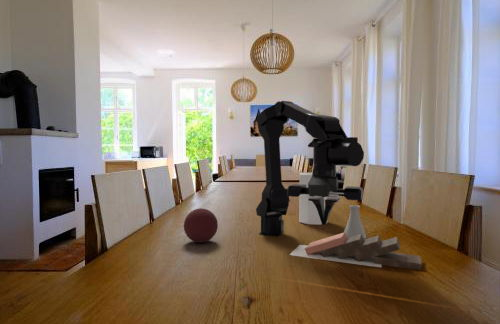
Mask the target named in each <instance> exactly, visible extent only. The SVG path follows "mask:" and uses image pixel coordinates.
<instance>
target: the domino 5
mask: <svg viewBox="0 0 500 324" xmlns="http://www.w3.org/2000/svg"><path fill="white" fill-rule="evenodd" d="M374 263H375V264H381V265H382V266H389V267H397V268H402V269H409V270H410V269H411V270H416V271H422V260H421V256H420V255H414V254H407V253H401V252H396V251H393V252H390V253H386V254H382V255H379V256H375V257H374Z"/></svg>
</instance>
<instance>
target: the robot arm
mask: <svg viewBox="0 0 500 324" xmlns="http://www.w3.org/2000/svg"><path fill="white" fill-rule="evenodd" d="M290 120H292V121H293V122H295V123H297V124H299V125H301V126H302V127H304V129H305V132H306V133H307V134H309V135H310V136H311V138H313V139H312V141H311V142H309V143H308V145H307V148H313V154H312V155H313V157H312V158H313V159H312V160H313V163H312V164H313V167H312V171H311V173H312V177H311V179H310V180H309V182H308V187H306V185H304V184H300V183H298V184H297V183H293V184H290V185H288V187H287V188H286V187H285V186H284V184H283V181H282V162H281V145H280V143H281V142H280V138H281V136H282V134H283V132H284V130H285V129H284V128H285V124H287V123H288V122H289V121H290ZM256 123H257V131H258V133H259V134H260V136H261V137H262V139H263V148H264V166H265V169H264V170H265V182H266V183H265V186H264V189H263V190H262V192H261V201H260V202H259V204H258V205H257V206H256V208H255V212H256V215H257V216H258V217H260V232H259V233H258V235H260V236H269V237H279V236H281V235H283V234H284V232H285V231H284V228H285V227H284V225H285V221H284V219H283V216H287V212H288V208H289V207H290V206H289V204H290V201H291V200H290V197H291V198H292V197H296V198H297V197H298V198H299V195H301V194H309V199H308V200H309V201H312V202H313V203H314V205H315V206H316V208H317V211H318V214H319V217H320V220H321V223H322V225H321V226H326V225H327V224H328V223H327V220H329V217H330V215H331V212H332V209H333V208H334V206H335V204H336V203H338V202H339V201H340V200H341V197H344V198H345V199H346V200H348V201H362V200H363V199H364V189H363V187H361V186H348V185H347V186H346V187H344V188H339V179H338V176H337V166H341V167H342V166H343V167H344V166H345V167H359V166H360V164H362V162H363V160H364V157H365V156H364V155H365V151H364V150H363V147H362V145H361V143H359V142H358V140H359V139H358V137H356V136H355V137H351V136H350V137H348V136H347V134H346V132H345V131H344V129H343V127H342V125H341V123H340V118H338V117H336V116H331V115H326V114H318V113H315V112H314V111H313V112H312V111H310V110H309V109H306V108H304V107H302V106H300V105H297V104H296V103H294V102H292V101H289V100H288V101H287V100H279V101H276V102H275V103H274V105H271V106H269V107H267V108H265V109H263V110H262V111H261V112H260V113H259V114H258V116H257V118H256ZM321 196H322V197H321ZM324 197H328V198H327V199H326V200H325V209H324ZM326 223H327V224H326Z"/></svg>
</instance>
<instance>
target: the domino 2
mask: <svg viewBox="0 0 500 324" xmlns="http://www.w3.org/2000/svg"><path fill="white" fill-rule="evenodd" d="M364 240H365V239H364V238H363V236H362V234H359V235H356V236H352V237H349V238H347V240H346V241H345V243H344V244H342V245H339V246H335V247H332V248H328V249H325V250H321V253H322V255H323V257H324V256H328V255H331V254H335V253H338V252H342V251H345V250H349V249H352V248H356V247H359V246H362V244H363V241H364Z"/></svg>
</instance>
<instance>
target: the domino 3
mask: <svg viewBox="0 0 500 324" xmlns="http://www.w3.org/2000/svg"><path fill="white" fill-rule="evenodd" d="M381 241H382V240H381V238H380V235H376V236H372V237H367V238H365V239H364V241H363V244H362V246H359V247H356V248H352V249H349V250H345V251H342V252H338V255H339V258H340V259H342V258H346V257H349V256H353V255H356V254H360V253H363V252H367V251H370V250H374V249H377V248H380V246H381Z"/></svg>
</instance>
